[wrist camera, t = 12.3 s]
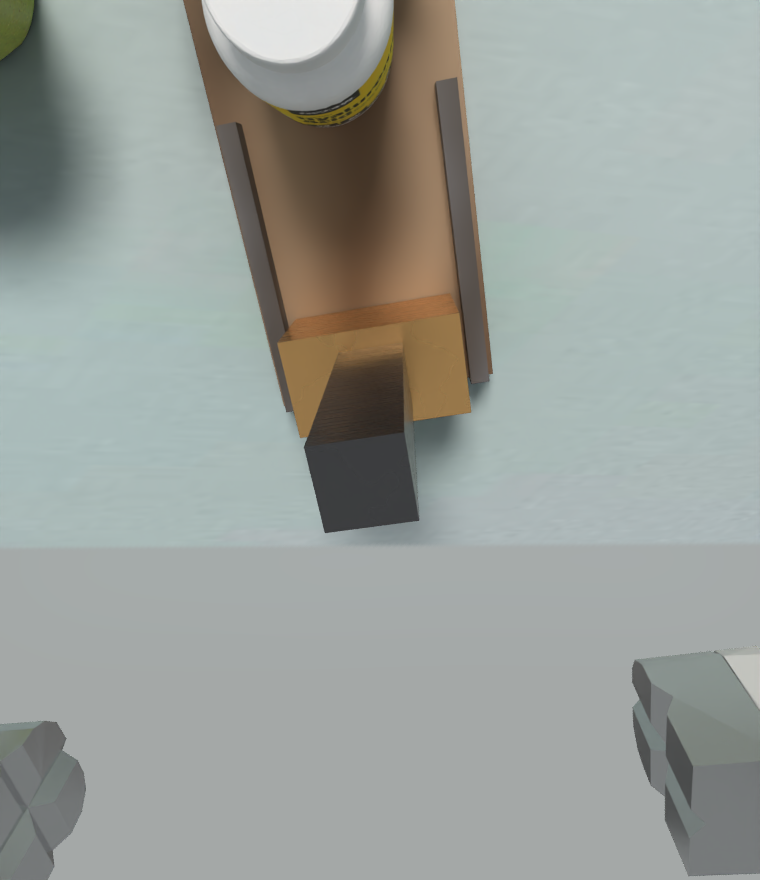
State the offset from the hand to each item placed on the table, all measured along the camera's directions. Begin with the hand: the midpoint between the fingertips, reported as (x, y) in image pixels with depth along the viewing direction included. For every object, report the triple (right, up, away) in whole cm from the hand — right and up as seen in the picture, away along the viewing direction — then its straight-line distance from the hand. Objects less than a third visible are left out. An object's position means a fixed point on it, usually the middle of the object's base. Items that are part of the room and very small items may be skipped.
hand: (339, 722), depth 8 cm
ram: (+1, +8, +19) cm, 21 cm away
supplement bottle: (-2, +19, +15) cm, 24 cm away
